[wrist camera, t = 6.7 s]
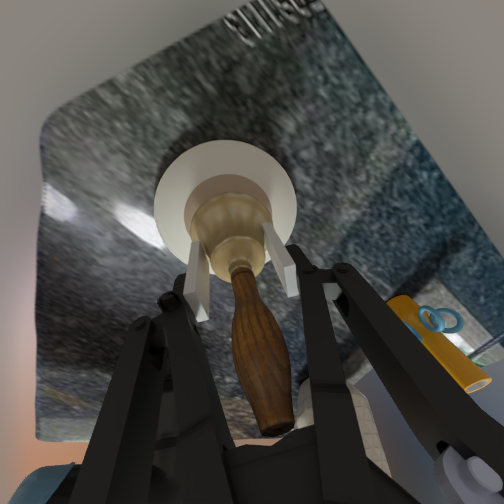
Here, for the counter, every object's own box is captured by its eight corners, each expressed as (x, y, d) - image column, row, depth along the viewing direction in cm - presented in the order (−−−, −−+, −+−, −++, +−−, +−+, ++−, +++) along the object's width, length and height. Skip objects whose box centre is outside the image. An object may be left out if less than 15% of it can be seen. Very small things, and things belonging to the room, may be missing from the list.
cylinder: (374, 290, 37) (458, 375, 24) (428, 275, 37) (537, 352, 25) (366, 330, 44) (428, 413, 31) (411, 317, 44) (490, 394, 32)
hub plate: (185, 279, 29) (183, 287, 27) (129, 156, 20) (123, 158, 18) (294, 254, 29) (298, 260, 28) (288, 125, 21) (294, 125, 19)
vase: (327, 399, 60) (382, 528, 41) (276, 399, 54) (312, 550, 35) (363, 365, 53) (452, 505, 33) (308, 362, 47) (376, 528, 28)
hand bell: (188, 187, 18) (122, 389, 4) (280, 195, 19) (434, 355, 6) (190, 265, 22) (160, 489, 8) (265, 266, 24) (336, 452, 10)
